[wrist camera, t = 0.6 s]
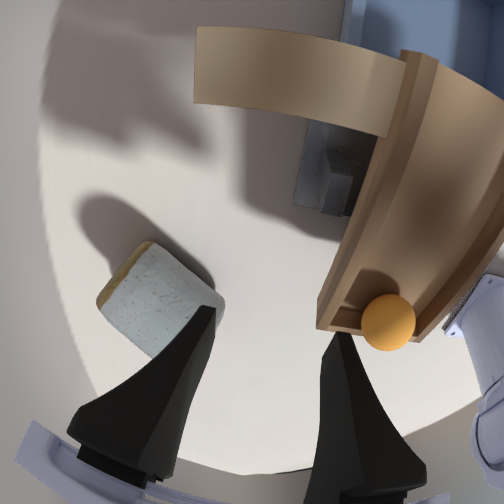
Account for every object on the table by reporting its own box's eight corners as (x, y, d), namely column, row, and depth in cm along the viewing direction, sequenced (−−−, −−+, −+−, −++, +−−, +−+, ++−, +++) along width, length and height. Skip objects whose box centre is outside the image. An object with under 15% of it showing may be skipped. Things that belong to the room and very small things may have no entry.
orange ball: (421, 287, 13) (429, 338, 11) (396, 315, 15) (399, 361, 13) (373, 278, 13) (377, 332, 11) (352, 308, 15) (352, 356, 13)
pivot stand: (476, 164, 14) (518, 198, 10) (446, 237, 17) (474, 283, 13) (311, 108, 15) (315, 122, 10) (293, 199, 18) (289, 243, 14)
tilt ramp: (500, 103, 8) (554, 140, 5) (408, 285, 18) (419, 342, 15) (225, 18, 9) (183, 11, 6) (214, 247, 19) (192, 303, 16)
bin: (493, 5, 6) (522, 0, 4) (476, 128, 12) (505, 143, 10) (351, -60, 7) (360, -83, 4) (333, 74, 13) (341, 73, 10)
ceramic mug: (158, 217, 21) (104, 283, 15) (236, 283, 23) (210, 361, 17) (112, 279, 26) (72, 335, 20) (173, 327, 29) (145, 387, 23)
